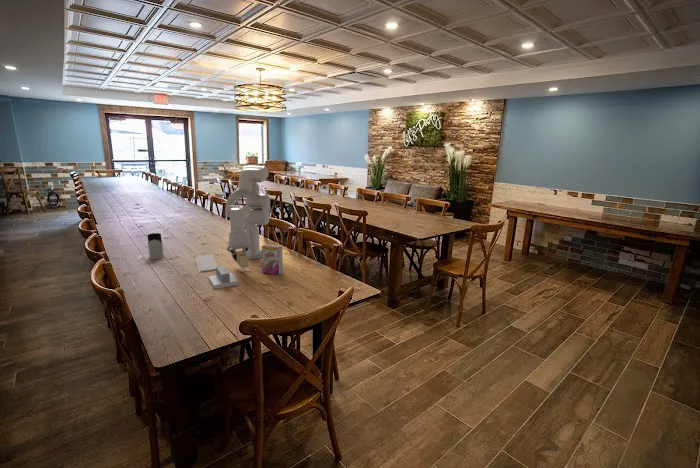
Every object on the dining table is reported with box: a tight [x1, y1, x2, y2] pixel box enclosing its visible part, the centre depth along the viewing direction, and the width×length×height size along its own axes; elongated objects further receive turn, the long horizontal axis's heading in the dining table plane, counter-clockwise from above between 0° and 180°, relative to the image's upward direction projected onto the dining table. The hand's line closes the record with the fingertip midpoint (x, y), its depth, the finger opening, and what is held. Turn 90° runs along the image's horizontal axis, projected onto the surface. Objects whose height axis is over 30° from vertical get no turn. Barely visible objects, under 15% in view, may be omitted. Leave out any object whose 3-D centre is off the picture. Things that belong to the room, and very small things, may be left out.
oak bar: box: [230, 248, 250, 269], centre depth 200 cm, size 22×4×6 cm, turn 32°
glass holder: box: [147, 232, 165, 260], centre depth 224 cm, size 9×14×15 cm, turn 24°
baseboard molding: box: [193, 252, 218, 273], centre depth 213 cm, size 31×3×12 cm
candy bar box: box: [261, 243, 284, 276], centre depth 198 cm, size 11×5×16 cm, turn 71°
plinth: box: [208, 265, 239, 289], centre depth 184 cm, size 12×14×7 cm
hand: (239, 259), depth 200 cm, fingers closed on oak bar, 4 cm apart
